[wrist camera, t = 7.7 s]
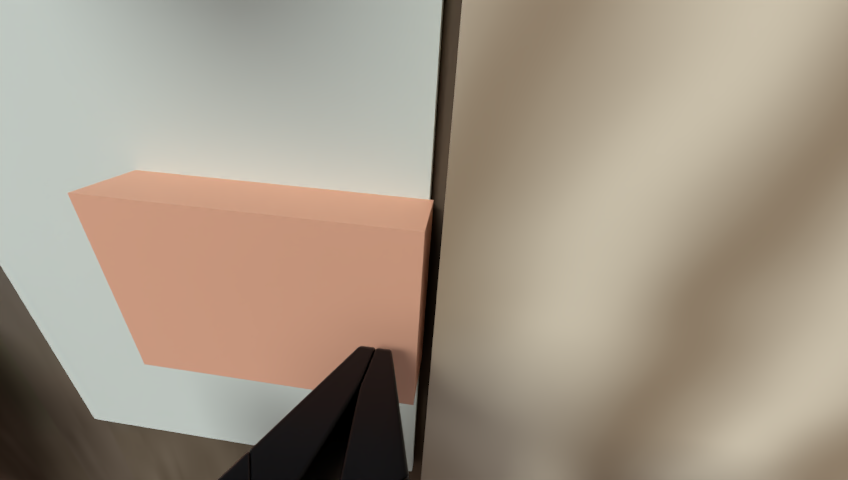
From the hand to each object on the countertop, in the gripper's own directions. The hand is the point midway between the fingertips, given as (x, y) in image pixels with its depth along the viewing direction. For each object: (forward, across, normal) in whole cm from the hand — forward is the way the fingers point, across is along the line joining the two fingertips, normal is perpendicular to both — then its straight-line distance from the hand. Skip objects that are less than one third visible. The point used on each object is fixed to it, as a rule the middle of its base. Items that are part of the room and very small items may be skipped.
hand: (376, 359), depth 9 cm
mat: (+3, +7, 0) cm, 8 cm away
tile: (+3, +4, 0) cm, 4 cm away
